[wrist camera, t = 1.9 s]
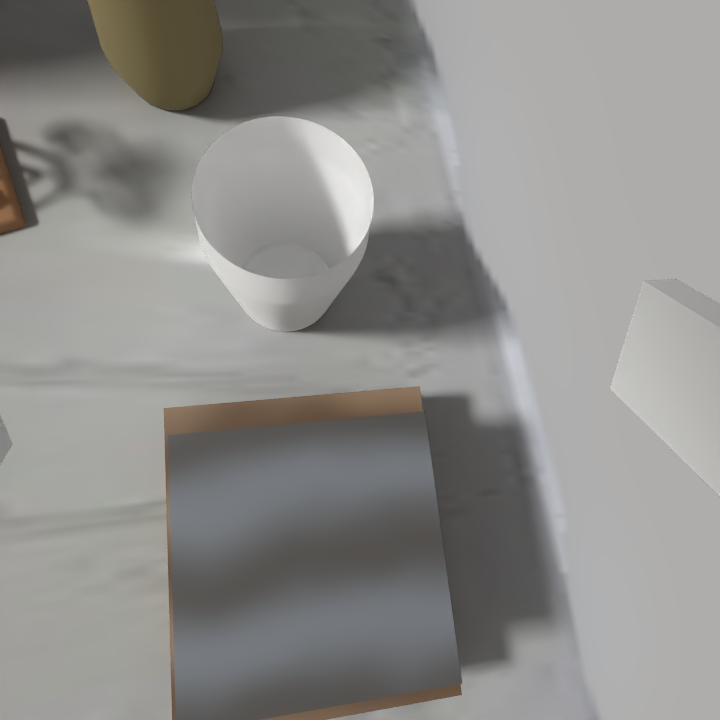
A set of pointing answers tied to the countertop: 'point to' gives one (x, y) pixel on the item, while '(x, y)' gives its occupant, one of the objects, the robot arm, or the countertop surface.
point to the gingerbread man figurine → (8, 201)
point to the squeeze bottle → (161, 47)
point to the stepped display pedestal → (305, 558)
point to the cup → (282, 217)
